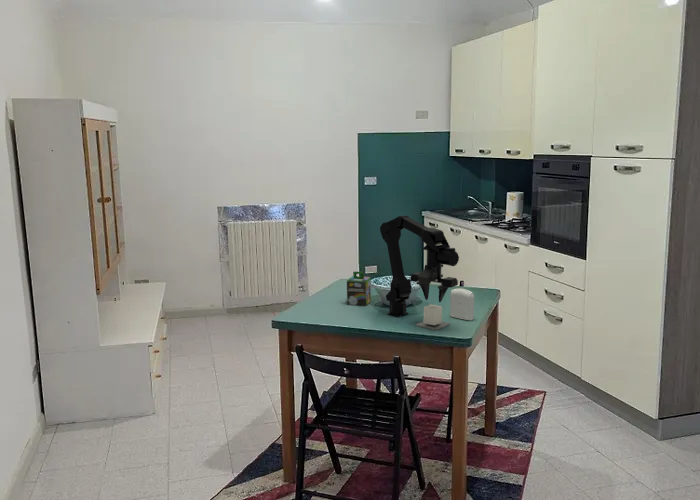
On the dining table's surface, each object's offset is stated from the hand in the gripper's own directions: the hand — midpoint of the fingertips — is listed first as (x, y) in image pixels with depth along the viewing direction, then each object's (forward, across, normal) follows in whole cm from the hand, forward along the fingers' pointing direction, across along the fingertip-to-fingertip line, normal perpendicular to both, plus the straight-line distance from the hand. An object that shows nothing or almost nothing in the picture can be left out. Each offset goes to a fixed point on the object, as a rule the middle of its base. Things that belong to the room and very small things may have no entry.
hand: (433, 300), depth 252 cm
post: (+10, 0, 0) cm, 10 cm away
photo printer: (+10, +4, +16) cm, 19 cm away
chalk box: (+10, -44, +8) cm, 46 cm away
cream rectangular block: (+9, 0, 0) cm, 9 cm away
